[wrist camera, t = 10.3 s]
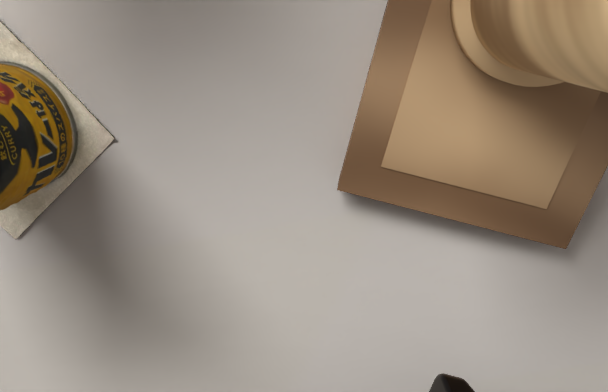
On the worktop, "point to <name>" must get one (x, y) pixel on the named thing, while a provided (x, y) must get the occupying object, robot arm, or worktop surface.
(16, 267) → the worktop surface
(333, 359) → the worktop surface
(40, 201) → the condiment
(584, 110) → the walnut board
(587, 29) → the wooden chess pawn
